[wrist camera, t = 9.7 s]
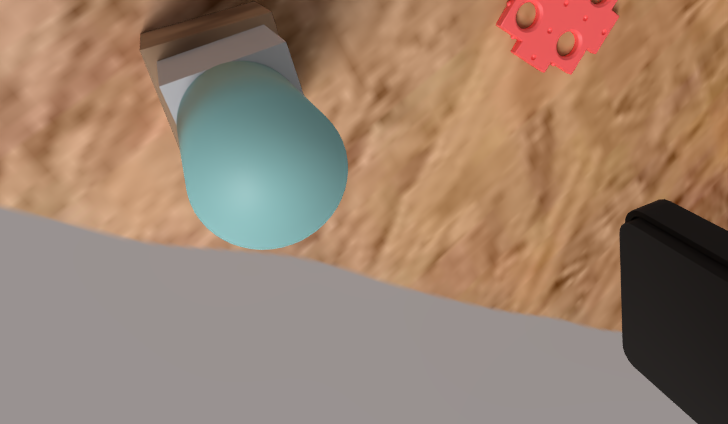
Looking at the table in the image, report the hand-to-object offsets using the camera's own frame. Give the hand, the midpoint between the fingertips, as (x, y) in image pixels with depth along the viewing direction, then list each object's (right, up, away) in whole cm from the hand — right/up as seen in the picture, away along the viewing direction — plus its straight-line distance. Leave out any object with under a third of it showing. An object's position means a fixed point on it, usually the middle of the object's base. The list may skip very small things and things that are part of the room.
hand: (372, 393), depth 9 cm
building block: (+12, +16, +28) cm, 34 cm away
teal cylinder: (-5, +6, +14) cm, 16 cm away
